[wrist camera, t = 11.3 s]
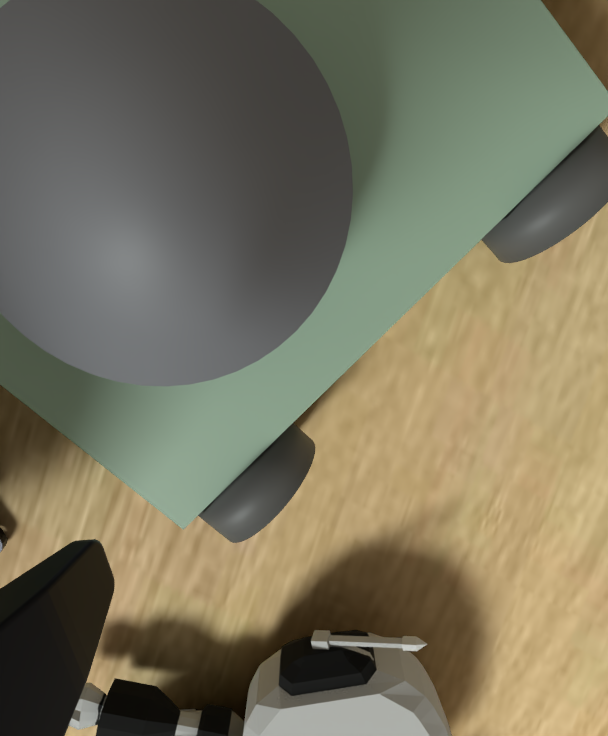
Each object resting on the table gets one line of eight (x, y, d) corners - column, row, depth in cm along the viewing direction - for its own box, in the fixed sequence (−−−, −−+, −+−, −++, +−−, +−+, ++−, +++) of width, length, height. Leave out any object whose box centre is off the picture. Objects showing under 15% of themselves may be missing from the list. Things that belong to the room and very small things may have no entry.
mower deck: (225, 503, 21) (208, 621, 15) (-168, 179, 17) (-411, 155, 11) (742, 3, 18) (997, -115, 12) (397, -541, 14) (505, -1157, 8)
